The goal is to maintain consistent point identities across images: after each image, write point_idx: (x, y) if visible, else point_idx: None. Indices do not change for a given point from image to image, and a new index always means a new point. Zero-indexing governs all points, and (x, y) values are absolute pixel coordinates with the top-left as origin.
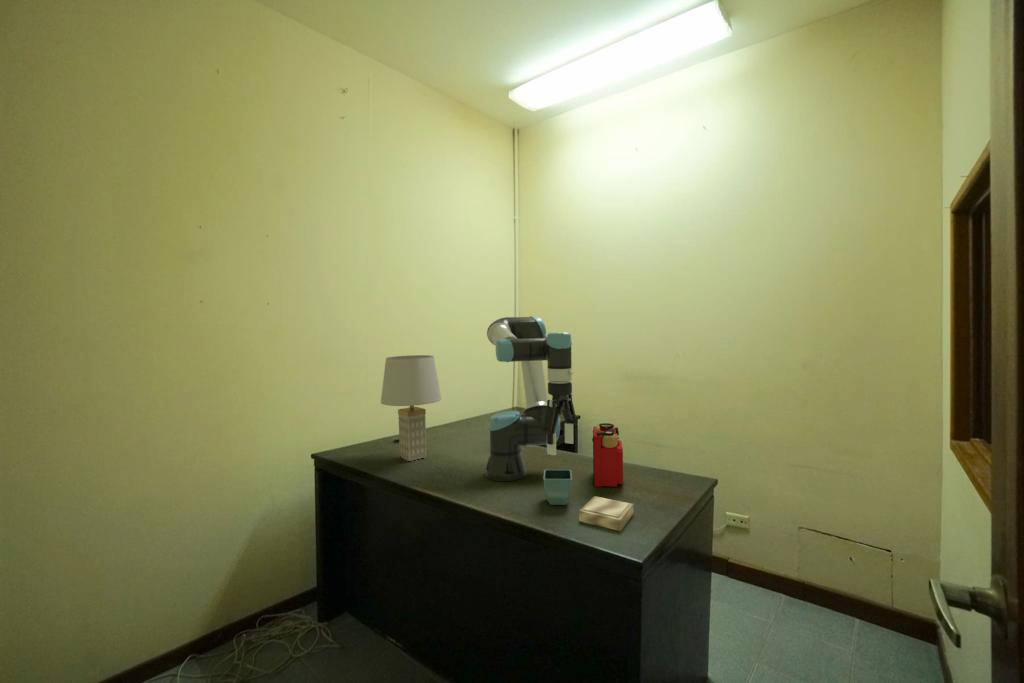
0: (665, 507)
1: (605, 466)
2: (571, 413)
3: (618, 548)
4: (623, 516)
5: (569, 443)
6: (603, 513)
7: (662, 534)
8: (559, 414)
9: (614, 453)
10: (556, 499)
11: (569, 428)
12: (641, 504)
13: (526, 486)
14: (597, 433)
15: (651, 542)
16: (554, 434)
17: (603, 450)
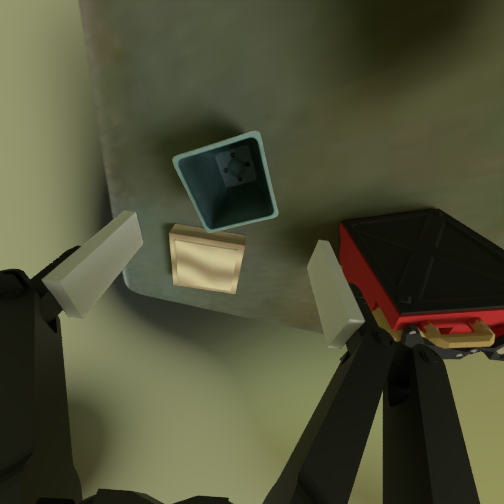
0: (271, 308)
1: (355, 269)
2: (393, 419)
3: (135, 274)
4: (186, 286)
5: (311, 256)
6: (177, 267)
7: (196, 306)
8: (67, 471)
9: None
10: (209, 174)
11: (326, 312)
12: (273, 288)
13: (327, 11)
14: (409, 330)
15: (171, 298)
16: (69, 311)
17: (372, 296)
